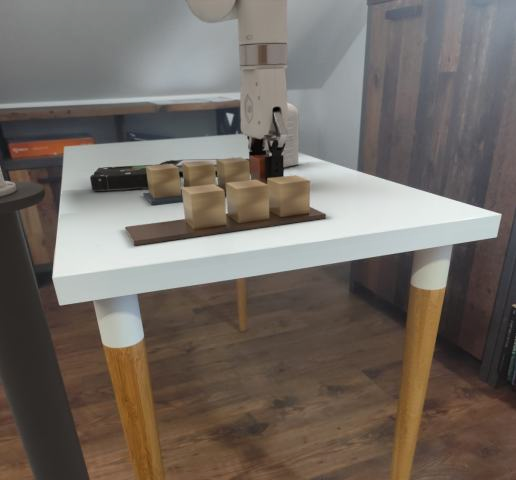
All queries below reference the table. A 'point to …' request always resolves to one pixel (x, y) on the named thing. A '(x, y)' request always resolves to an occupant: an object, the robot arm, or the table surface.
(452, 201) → the table surface
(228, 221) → the front word
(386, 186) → the table surface
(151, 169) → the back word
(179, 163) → the gaming console
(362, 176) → the table surface
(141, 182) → the disk drive
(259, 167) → the reddish wooden cube
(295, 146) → the white rounded slab
